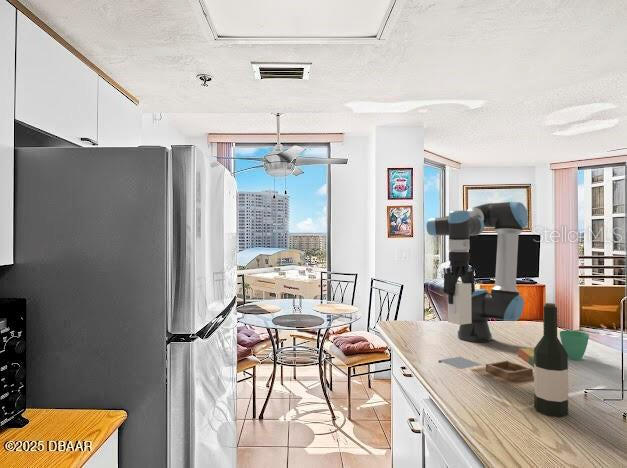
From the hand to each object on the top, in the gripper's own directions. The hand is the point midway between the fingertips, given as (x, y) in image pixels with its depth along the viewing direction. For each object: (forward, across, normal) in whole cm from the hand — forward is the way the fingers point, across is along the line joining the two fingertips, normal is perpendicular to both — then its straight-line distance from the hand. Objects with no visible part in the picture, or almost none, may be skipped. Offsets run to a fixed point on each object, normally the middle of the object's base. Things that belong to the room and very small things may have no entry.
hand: (459, 311), depth 156 cm
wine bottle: (+20, -7, -42) cm, 47 cm away
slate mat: (+20, 0, 0) cm, 20 cm away
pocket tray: (+20, +6, -17) cm, 27 cm away
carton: (+21, +27, -12) cm, 36 cm away
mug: (+20, +48, -12) cm, 54 cm away
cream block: (+4, 0, 0) cm, 4 cm away
